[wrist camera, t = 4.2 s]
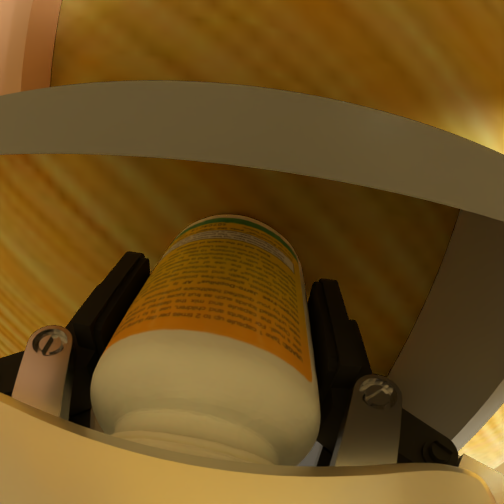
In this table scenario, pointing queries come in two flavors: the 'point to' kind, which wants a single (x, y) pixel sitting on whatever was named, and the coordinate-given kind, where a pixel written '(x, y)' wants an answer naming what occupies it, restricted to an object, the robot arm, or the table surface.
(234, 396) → the supplement bottle
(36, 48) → the tray
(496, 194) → the bay
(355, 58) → the table surface
